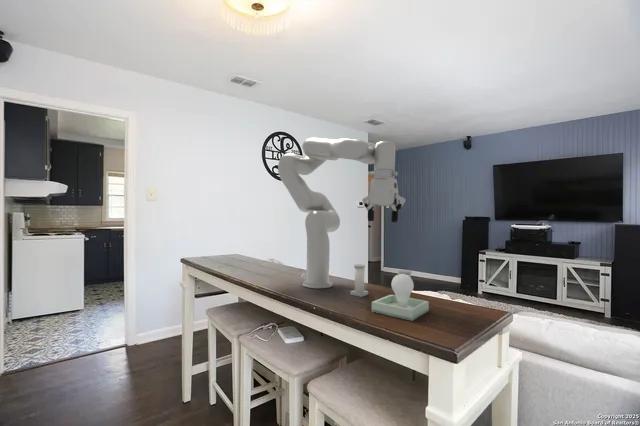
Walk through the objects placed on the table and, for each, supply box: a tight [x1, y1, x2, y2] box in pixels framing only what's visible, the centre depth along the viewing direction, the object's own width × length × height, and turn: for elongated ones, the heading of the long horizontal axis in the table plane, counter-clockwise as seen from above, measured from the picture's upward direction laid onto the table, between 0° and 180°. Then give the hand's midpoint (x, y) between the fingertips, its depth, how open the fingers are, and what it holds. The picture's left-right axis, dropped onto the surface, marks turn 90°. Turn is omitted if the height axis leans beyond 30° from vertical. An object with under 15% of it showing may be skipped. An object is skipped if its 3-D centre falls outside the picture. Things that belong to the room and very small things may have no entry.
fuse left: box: [349, 263, 369, 297], centre depth 120 cm, size 5×5×11 cm
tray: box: [371, 294, 430, 322], centre depth 99 cm, size 13×13×3 cm
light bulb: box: [391, 273, 415, 308], centre depth 98 cm, size 7×7×11 cm
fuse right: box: [398, 269, 412, 298], centre depth 109 cm, size 5×5×11 cm
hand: (382, 221), depth 118 cm, fingers open, 9 cm apart
